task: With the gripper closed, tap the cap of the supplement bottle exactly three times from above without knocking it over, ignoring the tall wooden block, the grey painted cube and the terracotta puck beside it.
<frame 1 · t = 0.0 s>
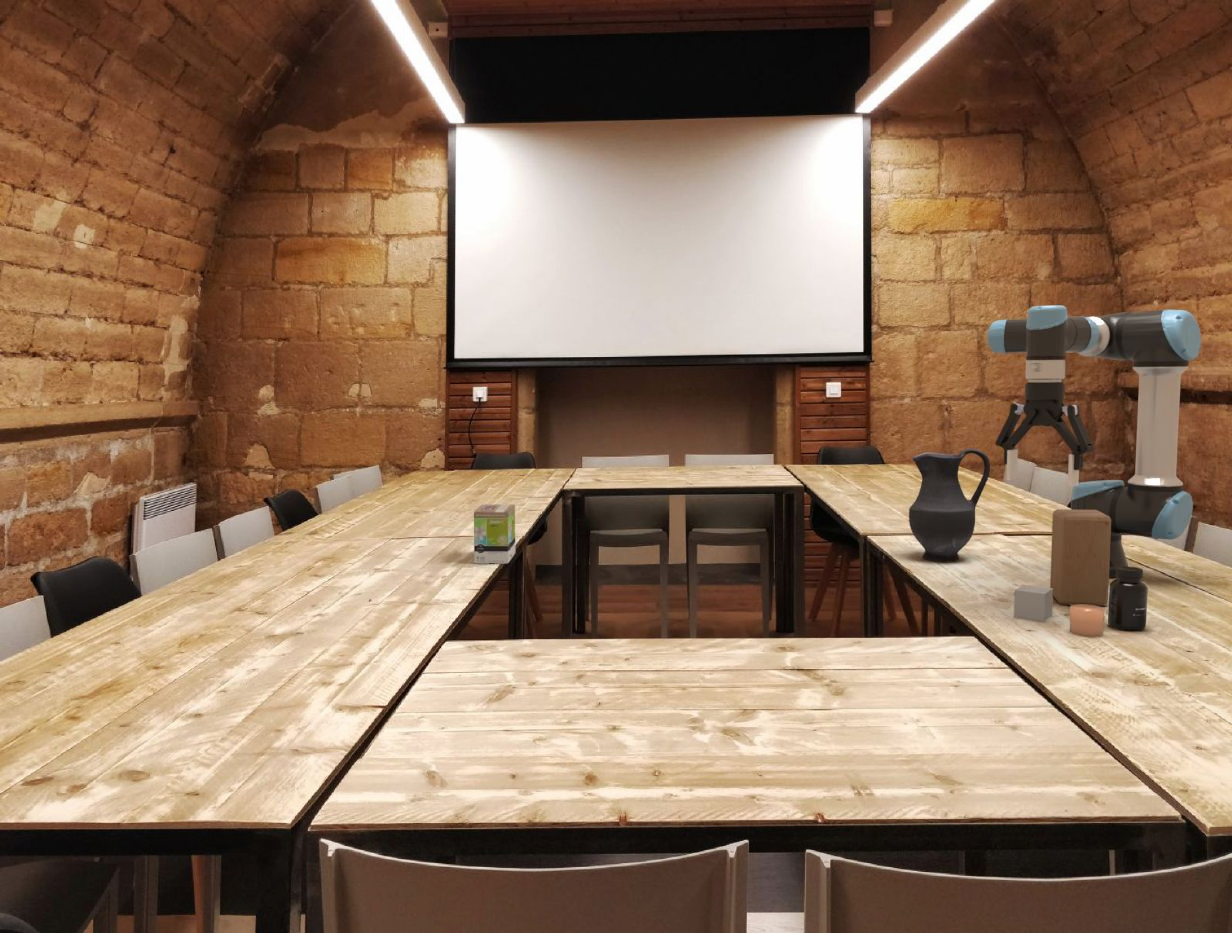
hand: (1041, 483, 202), 28 cm above the table, tool pointing down, fingers open, 13 cm apart
wooden block: (1078, 601, 215), on the table
supplement bottle: (1126, 627, 194), on the table
pitcher: (948, 559, 263), on the table
grey cube: (1032, 617, 203), on the table
tea box: (495, 559, 272), on the table
terracotta puck: (1086, 632, 190), on the table
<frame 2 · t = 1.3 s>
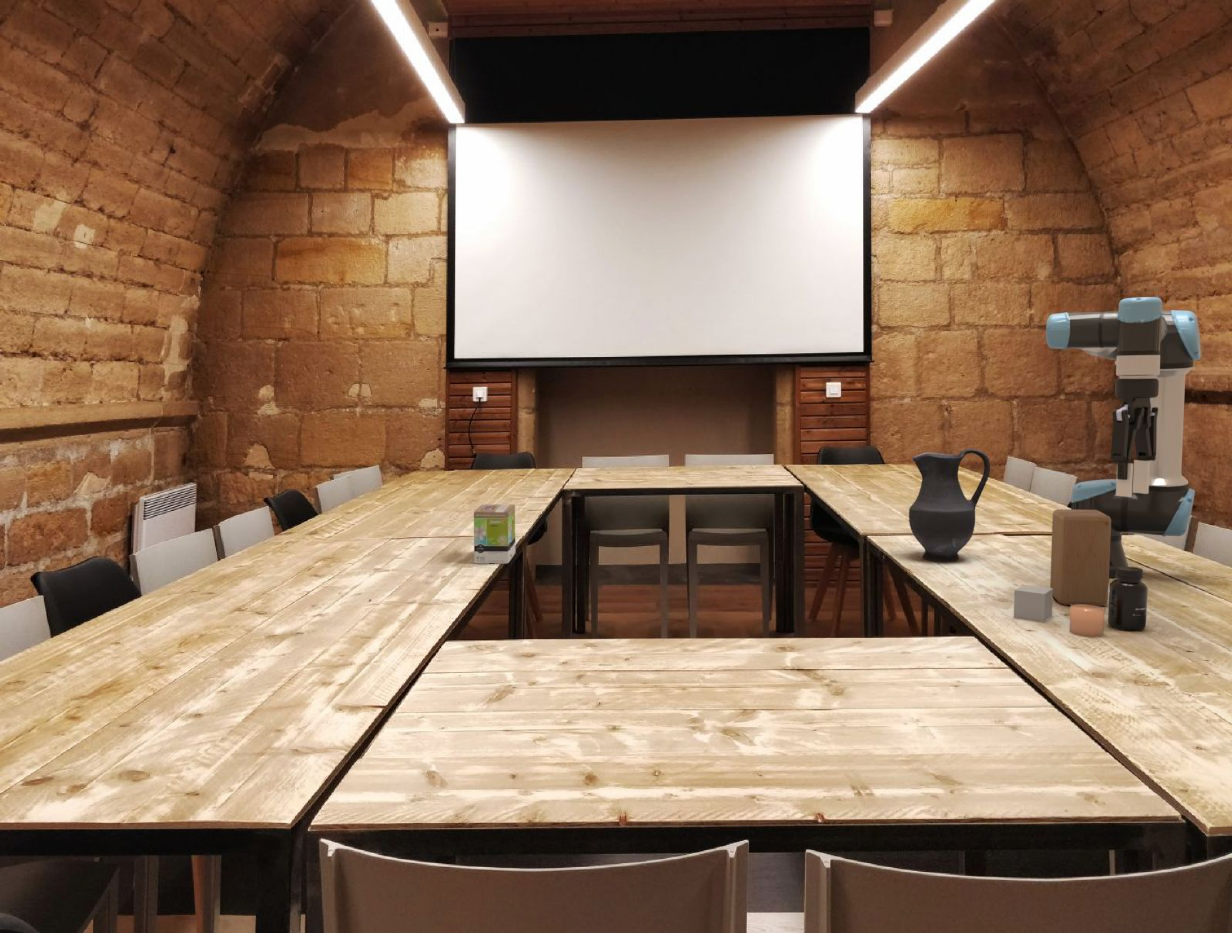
hand: (1132, 494, 191), 27 cm above the table, tool pointing down, fingers open, 6 cm apart
nothing on the table moved.
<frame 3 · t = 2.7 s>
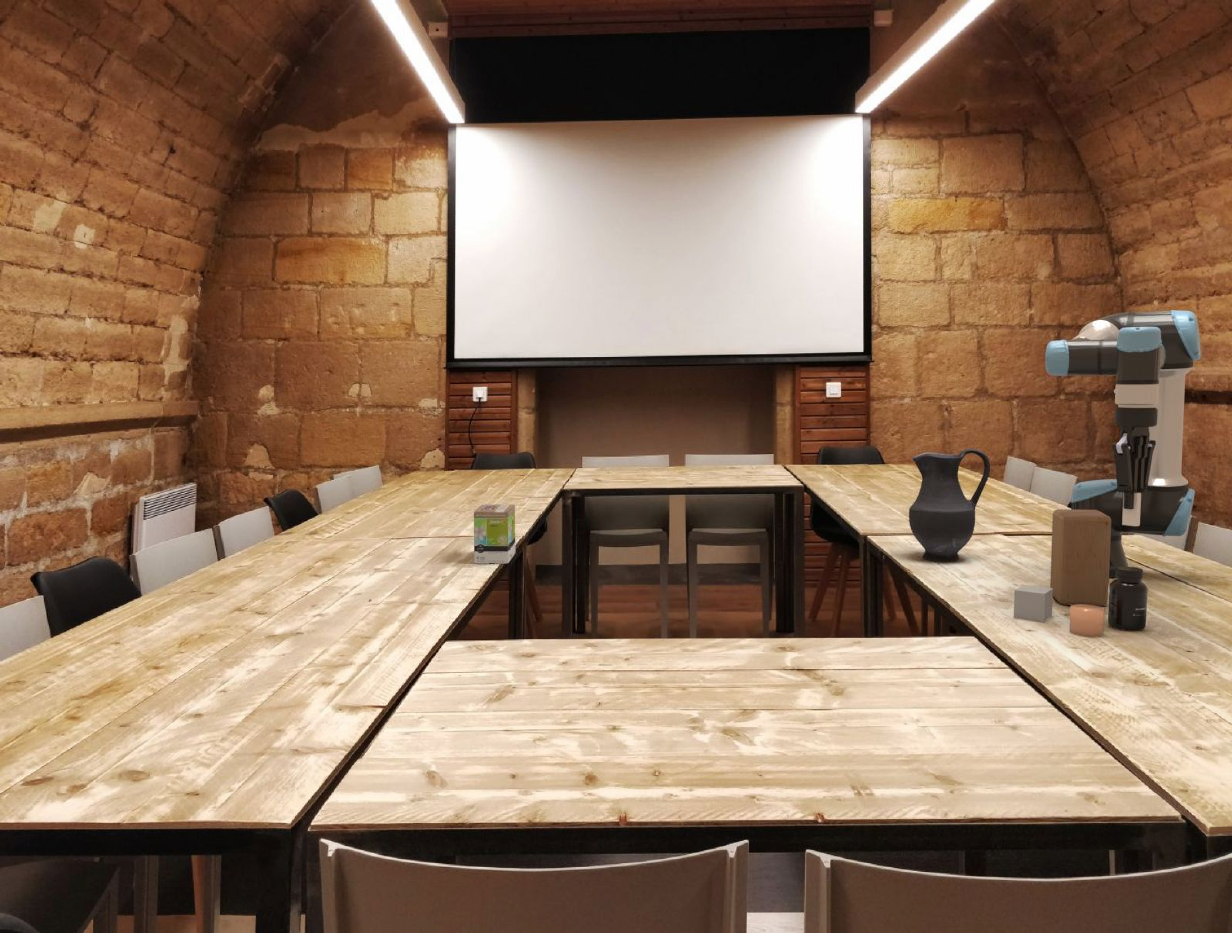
hand: (1130, 525, 191), 21 cm above the table, tool pointing down, fingers closed
nothing on the table moved.
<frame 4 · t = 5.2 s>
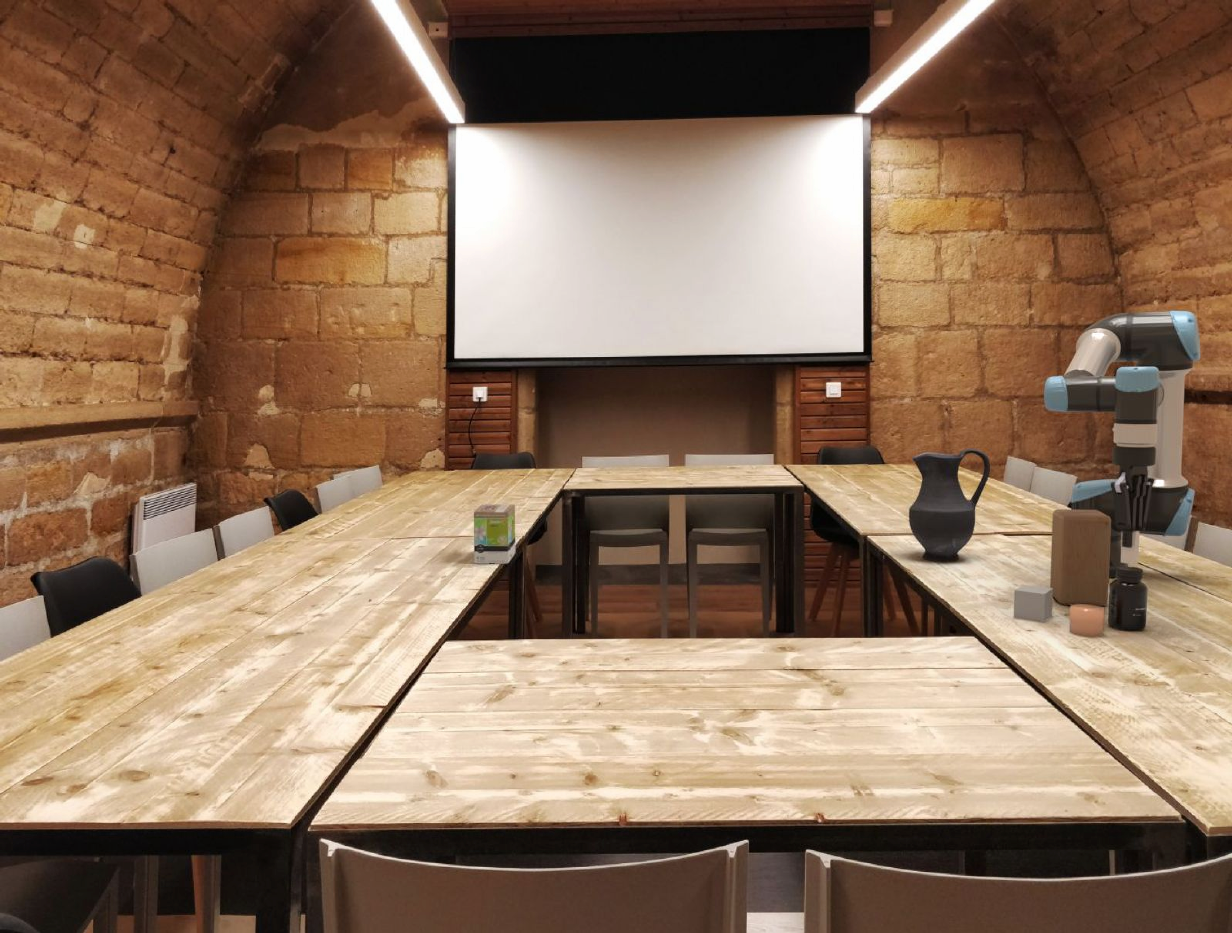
hand: (1129, 562, 192), 13 cm above the table, tool pointing down, fingers closed
nothing on the table moved.
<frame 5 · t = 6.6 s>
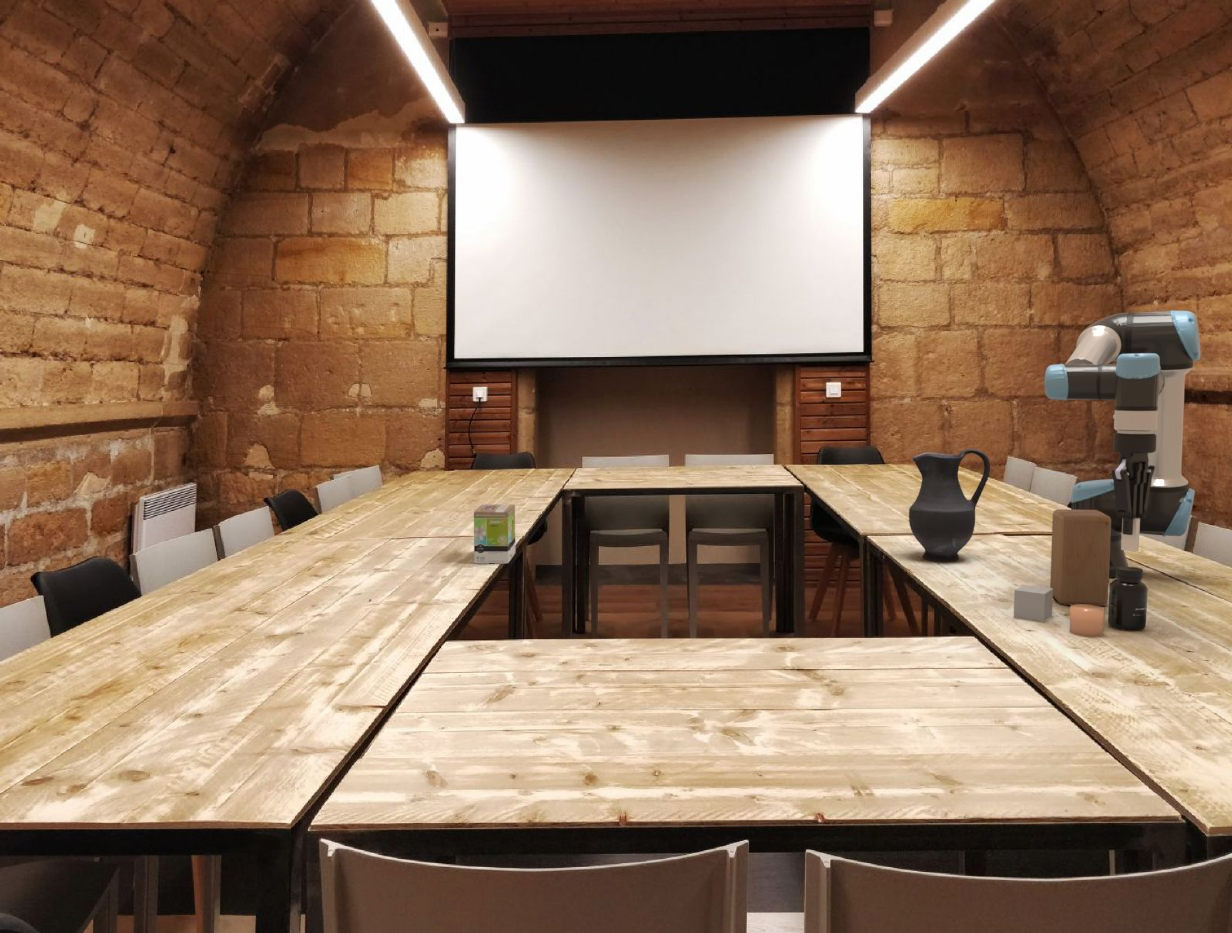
hand: (1129, 550, 192), 16 cm above the table, tool pointing down, fingers closed
nothing on the table moved.
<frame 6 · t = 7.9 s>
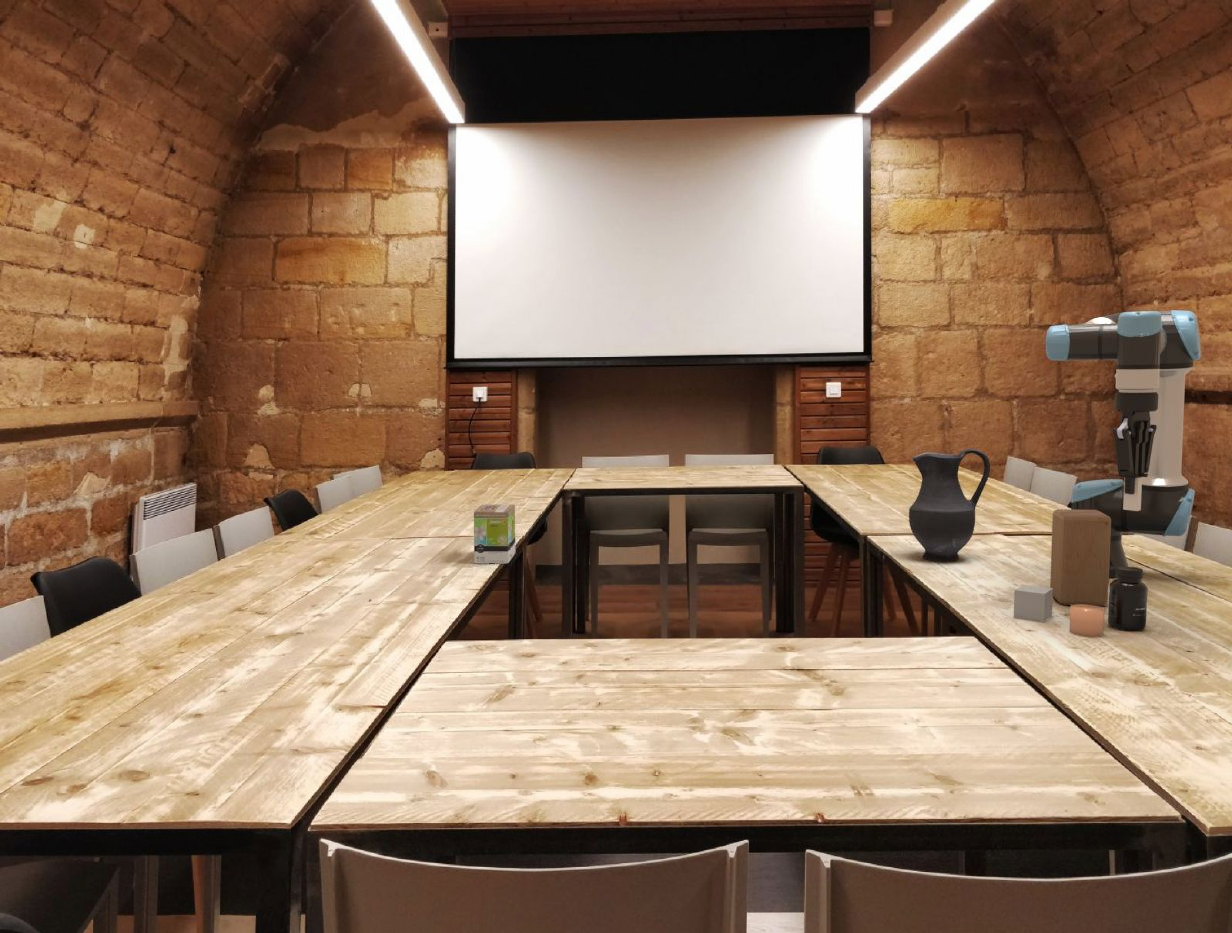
hand: (1131, 509, 192), 24 cm above the table, tool pointing down, fingers closed
nothing on the table moved.
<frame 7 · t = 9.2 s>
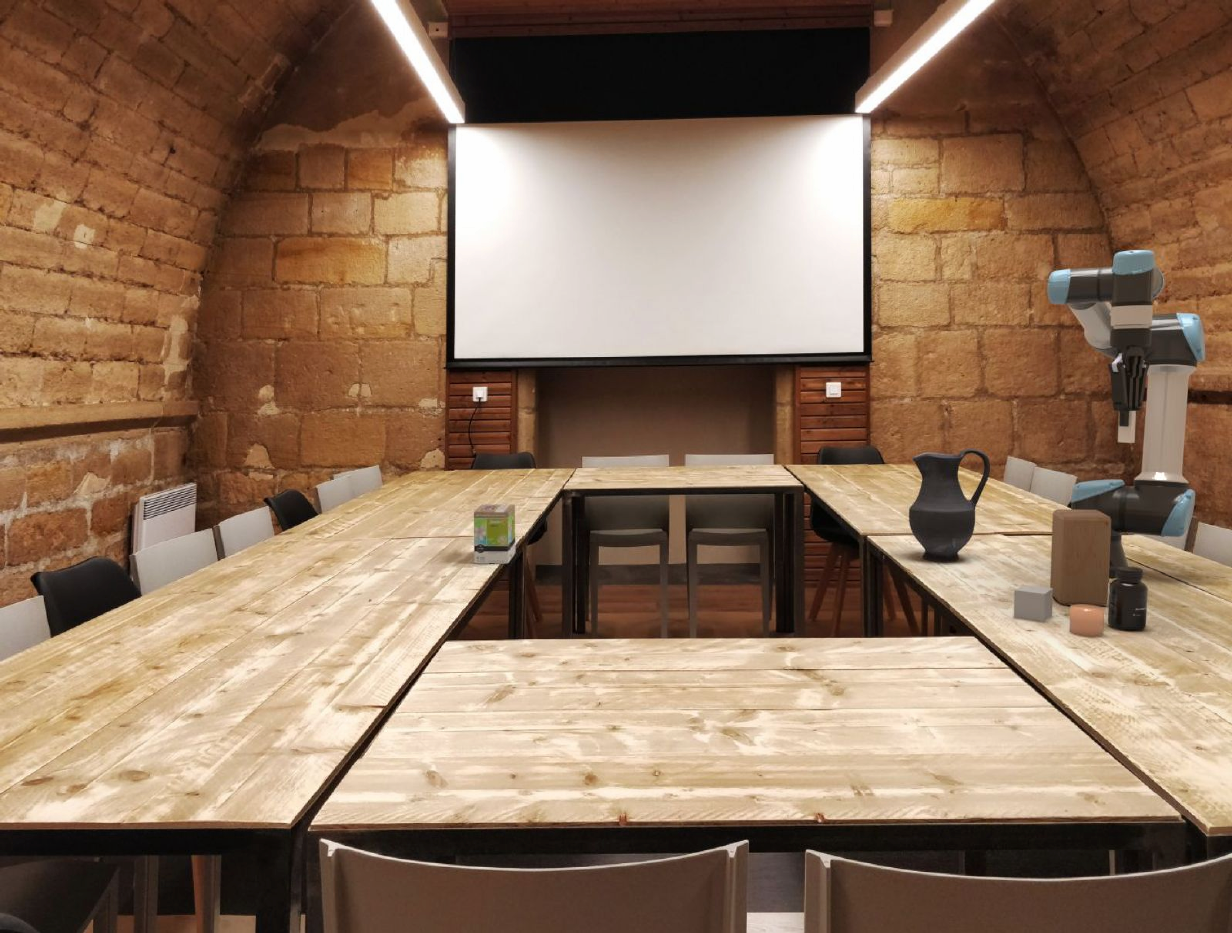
hand: (1126, 442, 200), 36 cm above the table, tool pointing down, fingers closed
nothing on the table moved.
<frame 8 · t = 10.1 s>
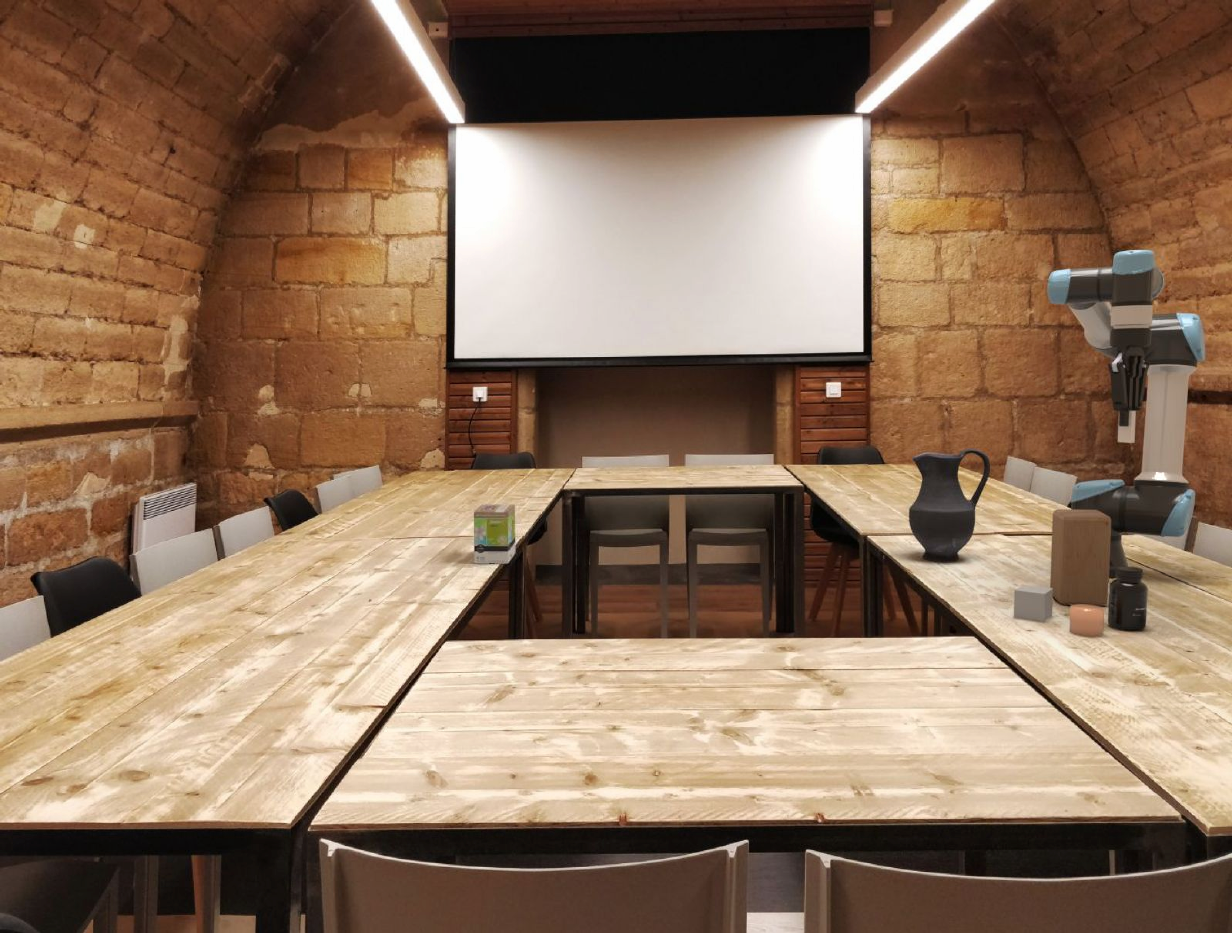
hand: (1126, 442, 200), 36 cm above the table, tool pointing down, fingers closed
nothing on the table moved.
at the end: supplement bottle moved 0.2 cm from its start; supplement bottle tilted 0°; supplement bottle inside the target area (0.0 cm from its centre), on the table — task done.
